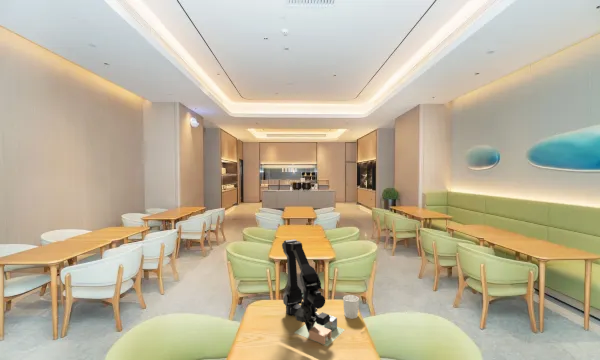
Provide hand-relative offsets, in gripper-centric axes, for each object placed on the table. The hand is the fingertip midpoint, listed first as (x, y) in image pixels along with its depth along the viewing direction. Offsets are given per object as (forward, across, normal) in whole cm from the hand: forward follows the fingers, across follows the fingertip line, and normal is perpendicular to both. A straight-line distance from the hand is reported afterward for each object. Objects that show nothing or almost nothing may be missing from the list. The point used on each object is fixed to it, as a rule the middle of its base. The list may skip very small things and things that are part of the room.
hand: (309, 332), depth 136 cm
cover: (+1, +6, 0) cm, 6 cm away
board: (+2, +2, +5) cm, 6 cm away
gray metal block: (+1, +5, +10) cm, 11 cm away
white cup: (+2, +7, +27) cm, 28 cm away
